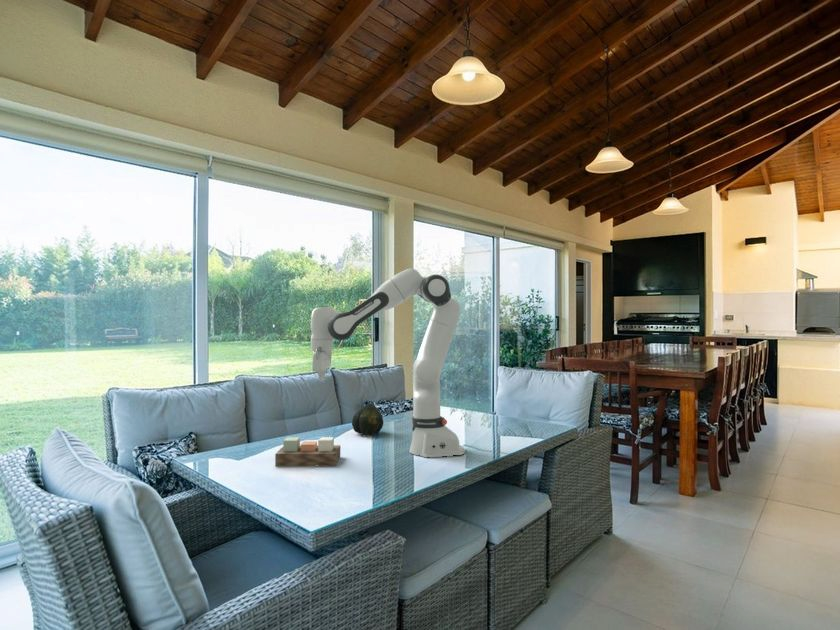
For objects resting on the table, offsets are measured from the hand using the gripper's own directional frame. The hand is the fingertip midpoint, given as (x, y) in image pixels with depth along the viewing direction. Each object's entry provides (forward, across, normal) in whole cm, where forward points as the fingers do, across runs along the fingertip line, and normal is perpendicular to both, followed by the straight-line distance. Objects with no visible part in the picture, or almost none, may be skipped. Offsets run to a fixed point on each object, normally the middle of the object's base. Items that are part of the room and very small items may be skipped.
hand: (321, 381), depth 196 cm
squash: (+29, +35, -15) cm, 48 cm away
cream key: (+26, -10, -4) cm, 28 cm away
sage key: (+26, -10, +9) cm, 29 cm away
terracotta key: (+27, -10, +3) cm, 29 cm away
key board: (+29, -10, +3) cm, 31 cm away
